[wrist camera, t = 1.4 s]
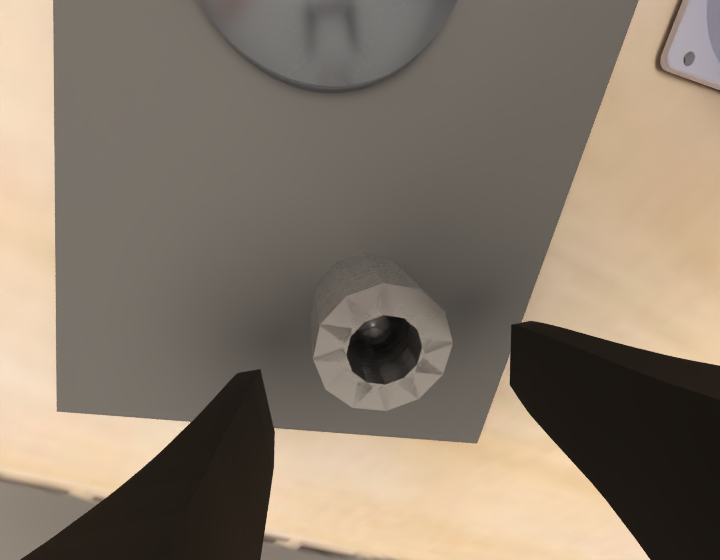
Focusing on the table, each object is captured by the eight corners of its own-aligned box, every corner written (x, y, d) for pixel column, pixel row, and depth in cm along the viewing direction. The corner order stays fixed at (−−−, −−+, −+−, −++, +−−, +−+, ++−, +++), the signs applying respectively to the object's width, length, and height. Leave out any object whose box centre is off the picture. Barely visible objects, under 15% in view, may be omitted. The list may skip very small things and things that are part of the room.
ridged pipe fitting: (426, 264, 15) (467, 296, 11) (400, 357, 16) (430, 415, 12) (322, 245, 14) (329, 273, 10) (303, 345, 15) (303, 403, 11)
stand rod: (381, 294, 15) (394, 316, 13) (374, 320, 15) (387, 346, 13) (353, 290, 15) (362, 311, 13) (347, 316, 15) (355, 342, 13)
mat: (672, -149, 13) (701, -174, 12) (468, 429, 19) (477, 443, 18) (75, -461, 9) (48, -536, 8) (71, 396, 15) (56, 411, 14)
